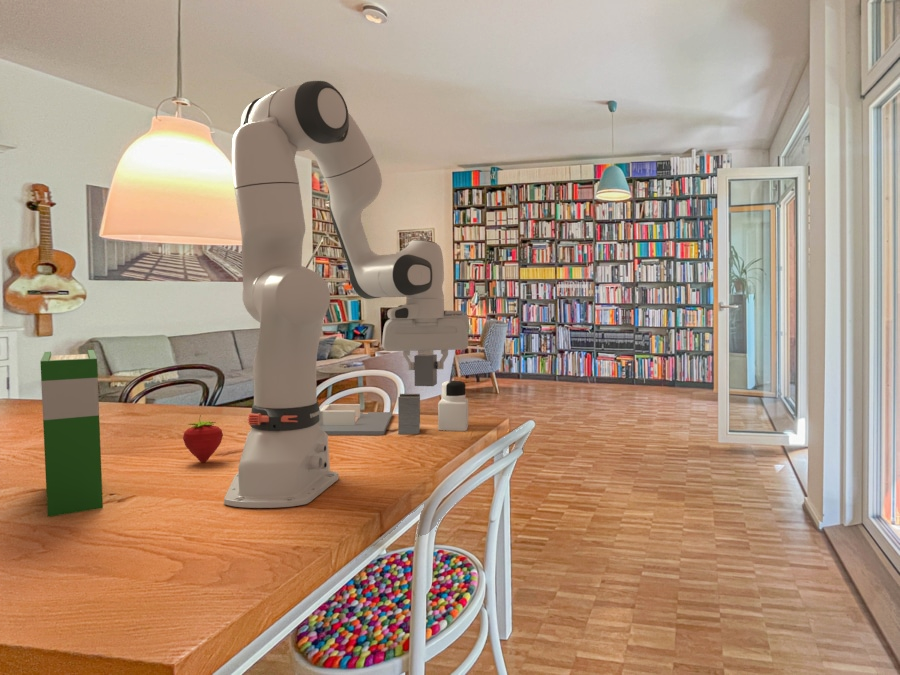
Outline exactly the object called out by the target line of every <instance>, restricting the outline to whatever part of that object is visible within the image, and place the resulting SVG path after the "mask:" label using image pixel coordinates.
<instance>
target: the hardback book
mask: <svg viewBox="0 0 900 675" xmlns="http://www.w3.org/2000/svg"><path fill="white" fill-rule="evenodd" d="M39 363H40V384H41V400H42V401H41V402H42V424H43V445H44V447H43V448H44V449H43V450H44V465H45V466H44V468H45V488H46V492H45V493H46V509H47V511H46V514H47V517H57V516H62V515H69V514H74V513H80V512H82V513H83V512H86V511H88V512H89V511H93V510H94V511H95V510H99V509H103V508H104V505H103V504H104V501H103V478H102V477H103V476H102V474H103V473H102V456H101V455H102V454H101V452H102V450H101V429H100V428H101V427H100V426H101V424H100V405H99V404H100V403H99V378H98V357H97V355H96V353H95V350H94V349H88V350H87V353H83V354H82V353H81V354H59V355H57V354H55V355H52V351H44V353H43V354H42V357H41V359H40V362H39Z"/></svg>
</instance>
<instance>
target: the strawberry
mask: <svg viewBox="0 0 900 675" xmlns="http://www.w3.org/2000/svg"><path fill="white" fill-rule="evenodd" d="M201 415H202V414H200V415H199V419H198V421H199V422H194V423H193V422H192V423H191V422H190V423H188V424H187V425H188V426H189V425H190V426H192V427H189V428H187V429H186V430H185V431H184V432H183V436H182V439H183V442H184V445H185V447H186V449H187V450H188V451H189V452H190V454H192V455H193V456H194V457H195V458H196V459H197V460H198V461H199V462H200V463H205V462H207V461H208V460H209V459H210V458H211V456H212V455H213V454H214V453H215V452H216V450H217V449H218V448H219V447H220V445H221V443H222V440H223V438H224V433H223V431H222V430H223V429H221V428H220V427H219V426H217V425H216V426H215V425H214V424H216V423H217V422H216V421H203V420H201V417H202V416H201Z"/></svg>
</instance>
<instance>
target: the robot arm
mask: <svg viewBox="0 0 900 675" xmlns="http://www.w3.org/2000/svg"><path fill="white" fill-rule="evenodd" d="M240 118H241V119H240V127H238V128H237V129H236V130H235V132H234V134H233V136H232V147H231V164H232V165H231V166H232V167H231V168H232V178H233V180H232V181H233V186H234V187H233V188H234V194H235V200H236V206H237V213H238V221H239V226H240V234H241V272H242V287H243V289H242V302H243V306H244V308H245V310H246V311H247V313H248V315H250V316H251V317H252V318H253V319H254V320H255V321H257V322H258V323H260V324H259V325H260V326H259V332H258V333H259V334H258V340H257V345H256V346H257V348H256V353H255V355H254V357H253V362H252V365H253V367H252V370H253V373H252V376H253V404H252V405H251V411H250V413H249V414H248V418H247V421H248V422H247V423H248V425H249V426H250V427H251V428H250V431H249V432H248V433H247V434H246V440H245V443H244V445H243V449H242V453H241V456H240V460H239V463H238V471H237V473H236V474H235V475H234V478H233V480H232V481H231V484H230V485H229V487H228V489H227V492H226V494H225V495H224V498H223V504H224V505H227V506H230V507H234V508H235V507H236V508H237V507H238V508H249V509H250V508H253V509H256V508H257V509H268V508H269V509H273V508H275V509H276V508H289V507H296V506H304V505H307V504H309V503H311V502H312V501H313V500H314V499H316V498H317V497H318V496H319V495H321V494H322V493H323V492H325V491H326V490H327V489H328V488H329V487H331V486H332V485H333V484H334V483H335V482H337V481H339V478H340V477H339V473H338V472H337V471H333V470H331V467H330V451H329V450H330V448H329V435H327V433H326V432H324V431H323V430H322V429H321V427H320V426H319V424H318V422H319V420H320V417H319V414H320V409H321V408H320V403H319V401H317V400H318V399H317V395H318V394H317V389H318V388H317V358H318V353H319V352H318V350H319V345H320V340H321V333H322V328H323V324H324V323H323V322H324V317H325V315H326V314H327V312H328V309H329V308H330V303H331V294H330V293H331V292H330V289H329V286H328V284H327V282H326V281H325V279H324V278H323V277H322V276H321V275H320V274H319V273H317V272H315V271H314V270H312V269H310V268H308V267H306V266H302V262H303V260H302V258H303V257H302V256H303V245H304V244H303V242H304V237H305V234H306V223H305V215H304V208H303V201H302V194H301V186H300V182H299V181H300V180H299V174H298V169H297V165H296V161H295V160H296V159H295V158H296V153H297V152H305V151H307V150H309V151H310V153H312V154H313V155H314V158H315V160H316V161H315V162H316V163H317V166H318V168H319V170H320V172H321V175H322V177H323V179H324V181H325V183H326V186H327V189H328V193H329V201H328V210H329V213H330V218H331V221H332V224H333V227H334V230H335V233H336V235H337V238H338V241H339V243H340V246H341V249H342V253H343V254H344V255H343V256H344V258H345V261H346V264H347V270H348V276H349V281H350V284H351V287H352V289H353V290H354V292H355V293H356V294H357V295H358V296H360V297H361V298H363V299H365V300H366V299H367V300H372V299H381V298H406V300H405V301H406V303H405V304H400V305H398V306H396V307H393V308H390V309H388V310H387V311H386V312H387V320H386V321H385V323H384V326H383V329H382V330H383V332H382V341H381V346H382V349H383V350H384V351H385V352H402V355H403V357H404V359H405V361H406V362H407V370H408V371H415V368H414V361H412V360H410V357H409V356H411V351H416V352H418V351H421V350H433V351H440V354H441V355H442V356H441V358H440V359H439V360H437V361H436V364H437V366H436V369H437V370H444V367H445V366H444V362H445V361H446V359H447V357H448V356H449V351H457V350H459V351H461V350H467V348H468V347H469V334H468V328H469V323H470V318H469V316H468V314H467V313H466V312H464V311H463V310H445V294H444V292H443V285H444V281H445V270H444V268H445V267H444V265H445V264H444V258H443V257H444V256H443V252H442V251H443V250H442V248H441V246H440V245H439V244H438V243H436V242H434V241H431V240H424V239H415V240H411V241H409V242H408V245H407V246H406V247H405V248H403V249H402V250H400V251H398V252H396V253H390V254H377V253H375V252H374V251H373V250H372V248H371V247H370V245H369V241H368V238H367V235H366V232H365V229H364V225H363V222H362V213H363V211H364V210H365V209H366V208H367V207H369V206H370V205H371V204H372V203H373V202H374V201H375V200H376V199H377V197H378V195H379V194H380V192H381V188H382V186H383V185H382V183H383V179H382V174H381V170H380V167H379V164H378V162H377V160H376V158H375V156H374V154H373V151H372V149H371V147H370V145H369V142H368V141H367V139H366V137H365V136H364V134H363V132H362V130H361V129H360V127H359V125H358V124H357V122H356V121H355V119H354V118H353V116H352V115H351V113H350V112H349V109H348V106H347V102H346V101H345V98H344V97H343V95H342V94H341V92H340V91H339V90H338V89H337V88H336V87H335V86H334V85H333V84H331V83H329V82H328V81H325V80H324V81H323V80H309V81H305V82H303V83H302V84H298V85H293V86H289V87H283V88H280V89H277V90H274V91H272V92H270V93H268V94H266V95H265V96H263V97H259V98H256V99H254V100H253V101H252V102H251V103H249V104H248V105H246V107H245V109H244V110H243V112H242V115H241V117H240Z"/></svg>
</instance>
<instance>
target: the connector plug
mask: <svg viewBox="0 0 900 675" xmlns="http://www.w3.org/2000/svg"><path fill="white" fill-rule="evenodd" d="M413 356H414V357H413V358H414V359H413V360H414V361H413V362H414V368H415V370H414V387H434V386H436V385H437V384H438V369H436V366H437V364H436V361H438V355H437V354H434V350H421V351H417V354H416V355H413Z"/></svg>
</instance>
